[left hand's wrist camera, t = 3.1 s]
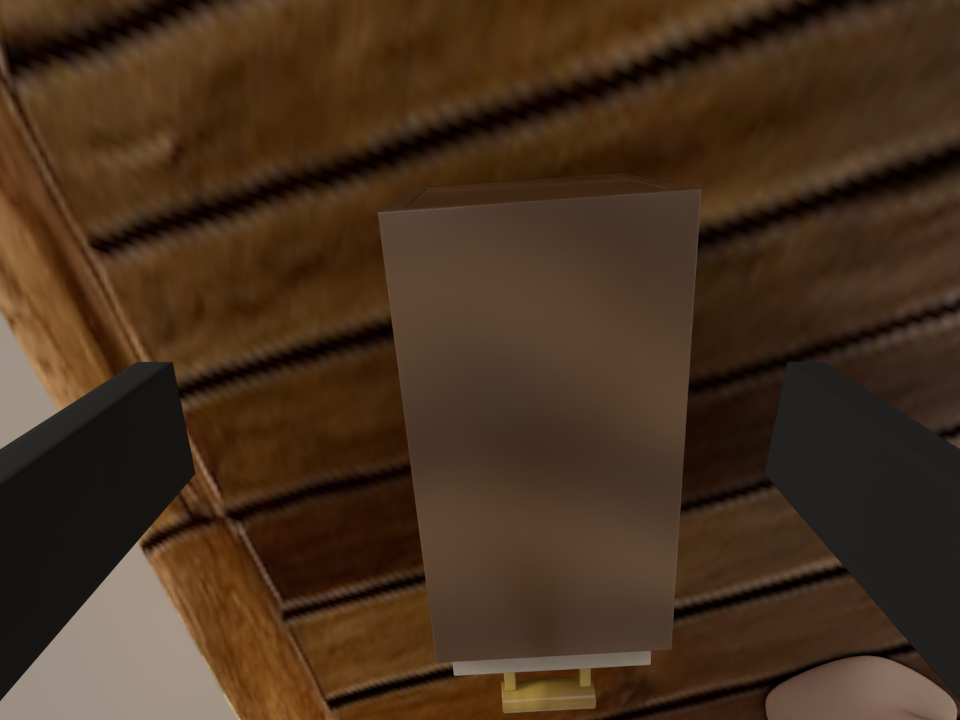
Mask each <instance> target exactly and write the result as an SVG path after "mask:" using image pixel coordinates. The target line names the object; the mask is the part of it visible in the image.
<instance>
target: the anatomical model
mask: <svg viewBox="0 0 960 720" xmlns="http://www.w3.org/2000/svg"><path fill="white" fill-rule="evenodd" d="M765 706H766V714H767V718H768V720H956V718H957V708H956V705H955V703H954V701H953V699H952V698H951V697H950V696H949V695H948V694H947V693H946V692H945V691H944V690H943V689H941V688H940V687H938V686H937V685H936V684H934V683H933V682H932V681H930V680H928V679H927V678H925V677H924V676H922V675H920V674H919V673H917V672H915V671H913V670H912V669H910V668H908V667H905V666H903V665H901V664H899V663H897V662H894V661H892V660H889V659H885V658H881V657H876V656H855V657H849V658H844V659H840V660H836V661H833V662H830V663H826V664H823V665H820V666H818V667H815V668H813V669H810V670H808V671H805V672H803V673H801V674H799V675H796V676H794V677H792V678H790V679H788V680H786V681H785V682H783V683H781V684H779V685H778V686H777V687H775V688H774V689H773V690H772V691H771V692H770V693H769V694H768V696H767V698H766V704H765Z"/></svg>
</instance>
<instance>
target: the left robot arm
mask: <svg viewBox="0 0 960 720" xmlns="http://www.w3.org/2000/svg"><path fill="white" fill-rule="evenodd" d="M194 475H195V469H194V464H193V459H192V454H191V449H190V445H189V440H188V435H187V430H186V425H185V420H184V416H183V411H182V406H181V401H180V396H179V391H178V387H177V382H176V377H175V372H174V367H173V362H136V363H134V364H133V365H131V366H130V367H128V368H127V369H125V370H123V371H122V372H120V373H119V374H117V375H116V376H114V377H113V378H111V379H109V380H108V381H106V382H105V383H103V384H102V385H100V386H98V387H97V388H95V389H94V390H92V391H91V392H89V393H88V394H86V395H84V396H83V397H81V398H80V399H78V400H77V401H75V402H73V403H72V404H70V405H69V406H67V407H66V408H64V409H63V410H61V411H59V412H58V413H56V414H55V415H53V416H52V417H50V418H48V419H47V420H45V421H44V422H42V423H41V424H39V425H38V426H36V427H34V428H33V429H31V430H30V431H28V432H27V433H25V434H24V435H22V436H20V437H19V438H17V439H16V440H14V441H13V442H11V443H9V444H8V445H6V446H5V447H3V448H2V449H0V701H1V699H2V698H3V697H4V696H5V695H6V694H7V692H8V691H9V690H10V689H11V688H12V687H13V685H14V684H15V683H16V682H17V681H18V680H19V679H20V677H21V676H22V675H23V674H24V673H25V672H26V670H27V669H28V668H29V667H30V666H31V665H32V663H33V662H34V661H35V660H36V659H37V658H38V656H39V655H40V654H41V653H42V652H43V651H44V649H45V648H46V647H47V646H48V645H49V644H50V642H51V641H52V640H53V639H54V638H55V637H56V635H57V634H58V633H59V632H60V631H61V630H62V628H63V627H64V626H65V625H66V624H67V623H68V621H69V620H70V619H71V618H72V617H73V616H74V614H75V613H76V612H77V611H78V610H79V609H80V607H81V606H82V605H83V604H84V603H85V602H86V601H87V599H88V598H89V597H90V596H91V595H92V594H93V592H94V591H95V590H96V589H97V588H98V587H99V585H100V584H101V583H102V582H103V581H104V580H105V578H106V577H107V576H108V575H109V574H110V573H111V571H112V570H113V569H114V568H115V567H116V566H117V564H118V563H119V562H120V561H121V560H122V559H123V557H124V556H125V555H126V554H127V553H128V552H129V550H130V549H131V548H132V547H133V546H134V545H135V543H136V542H137V541H138V540H139V539H140V538H141V536H142V535H143V534H144V533H145V532H146V531H147V529H148V528H149V527H150V526H151V525H152V524H153V523H154V521H155V520H156V519H157V518H158V517H159V516H160V514H161V513H162V512H163V511H164V510H165V509H166V507H167V506H168V505H169V504H170V503H171V502H172V500H173V499H174V498H175V497H176V496H177V495H178V493H179V492H180V491H181V490H182V489H183V488H184V486H185V485H186V484H187V483H188V482H189V481H190V479H191V478H192V477H193V476H194ZM765 475H766V476H767V477H768V478H769V479H770V481H771V482H772V483H773V484H774V485H775V486H776V488H777V489H778V490H779V491H780V492H781V493H782V495H783V496H784V497H785V498H786V499H787V500H788V502H789V503H790V504H791V505H792V506H793V507H794V509H795V510H796V511H797V512H798V513H799V514H800V516H801V517H802V518H803V519H804V520H805V521H806V523H807V524H808V525H809V526H810V527H811V528H812V529H813V531H814V532H815V533H816V534H817V535H818V536H819V538H820V539H821V540H822V541H823V542H824V543H825V545H826V546H827V547H828V548H829V549H830V550H831V552H832V553H833V554H834V555H835V556H836V557H837V559H838V560H839V561H840V562H841V563H842V564H843V566H844V567H845V568H846V569H847V570H848V571H849V573H850V574H851V575H852V576H853V577H854V578H855V580H856V581H857V582H858V583H859V584H860V585H861V587H862V588H863V589H864V590H865V591H866V592H867V594H868V595H869V596H870V597H871V598H872V599H873V601H874V602H875V603H876V604H877V605H878V606H879V608H880V609H881V610H882V611H883V612H884V613H885V614H886V616H887V617H888V618H889V619H890V620H891V621H892V623H893V624H894V625H895V626H896V627H897V628H898V630H899V631H900V632H901V633H902V634H903V635H904V637H905V638H906V639H907V640H908V641H909V642H910V644H911V645H912V646H913V647H914V648H915V649H916V651H917V652H918V653H919V654H920V655H921V656H922V658H923V659H924V660H925V661H926V662H927V663H928V665H929V666H930V667H931V668H932V669H933V670H934V672H935V673H936V674H937V675H938V676H939V677H940V679H941V680H942V681H943V682H944V683H945V684H946V686H947V687H948V688H949V689H950V690H951V691H952V693H953V694H954V695H955V696H956V697H957V698H958V700H959V701H960V449H958V448H957V447H955V446H954V445H952V444H951V443H949V442H948V441H946V440H944V439H943V438H941V437H940V436H938V435H937V434H935V433H933V432H932V431H930V430H929V429H927V428H926V427H924V426H922V425H921V424H919V423H918V422H916V421H915V420H913V419H912V418H910V417H908V416H907V415H905V414H904V413H902V412H901V411H899V410H897V409H896V408H894V407H893V406H891V405H890V404H888V403H887V402H885V401H883V400H882V399H880V398H879V397H877V396H876V395H874V394H872V393H871V392H869V391H868V390H866V389H865V388H863V387H862V386H860V385H858V384H857V383H855V382H854V381H852V380H851V379H849V378H847V377H846V376H844V375H843V374H841V373H840V372H838V371H837V370H835V369H833V368H832V367H830V366H829V365H827V364H826V363H824V362H787V367H786V372H785V377H784V382H783V387H782V391H781V396H780V401H779V406H778V411H777V416H776V420H775V425H774V430H773V435H772V440H771V445H770V449H769V454H768V459H767V464H766V469H765Z"/></svg>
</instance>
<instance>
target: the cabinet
mask: <svg viewBox="0 0 960 720" xmlns="http://www.w3.org/2000/svg"><path fill="white" fill-rule="evenodd" d="M700 200H701V189H700V188H695V187H689V186H684V185H679V184H675V183H670V182H665V181H660V180H655V179H650V178H645V177H640V176H635V175H630V174H625V173H612V174H598V175H584V176H571V177H557V178H544V179H530V180H517V181H503V182H490V183H476V184H462V185H449V186H435V187H422V188H413V189H412V190H410V191H409V192H407V193H406V194H404V195H403V196H401V197H400V198H399V199H397V200H396V201H394V202H393V203H391V204H390V205H389V206H387V207H386V208H384V209H383V210H381V211H380V212H378V218H379V226H380V234H381V241H382V249H383V257H384V264H385V272H386V279H387V287H388V295H389V302H390V310H391V318H392V325H393V333H394V341H395V348H396V356H397V364H398V371H399V379H400V387H401V394H402V402H403V410H404V417H405V425H406V433H407V440H408V448H409V456H410V463H411V471H412V478H413V486H414V494H415V501H416V509H417V517H418V524H419V532H420V540H421V547H422V555H423V563H424V570H425V578H426V586H427V593H428V601H429V609H430V616H431V624H432V632H433V639H434V647H435V655H436V662H437V663H444V662H462V661H480V660H497V659H515V658H533V657H551V656H568V655H586V654H604V653H622V652H639V651H657V650H671V644H672V629H673V614H674V598H675V583H676V568H677V552H678V537H679V522H680V507H681V491H682V476H683V461H684V445H685V430H686V415H687V399H688V384H689V369H690V354H691V338H692V323H693V308H694V292H695V277H696V262H697V246H698V231H699V216H700Z"/></svg>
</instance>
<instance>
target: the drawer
mask: <svg viewBox="0 0 960 720" xmlns="http://www.w3.org/2000/svg"><path fill="white" fill-rule="evenodd" d="M650 662H651V651H639V652H622V653H604V654H586V655H568V656H551V657H533V658H515V659H497V660H480V661H462V662H453V669H454V675H455V676H456V675H474V674H492V673H504V681H502V682H501V687H502V705H503V713H520V712H538V711H557V710H575V709H593V708H596V696H595V688H594V683H593V679H592V677H591V668H599V667H617V666H635V665H650ZM563 669H578V677H566V678H548V679H530V680H515V672H528V671H545V670H563Z"/></svg>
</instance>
